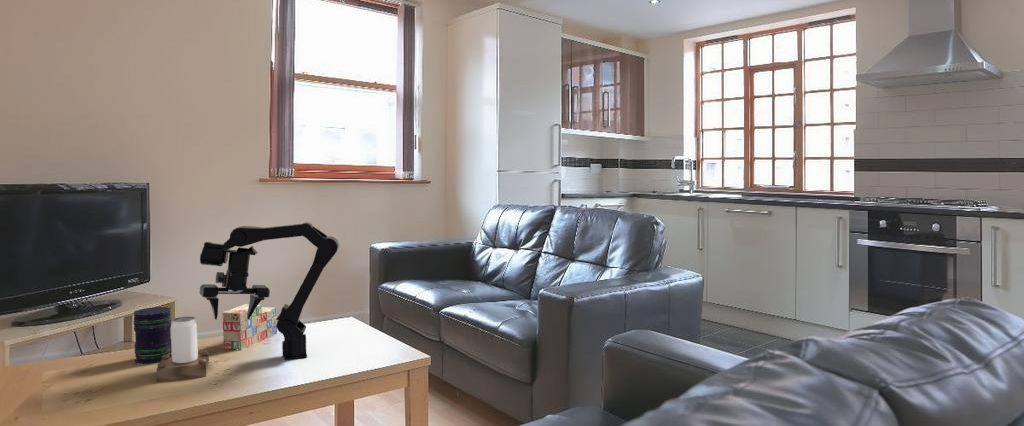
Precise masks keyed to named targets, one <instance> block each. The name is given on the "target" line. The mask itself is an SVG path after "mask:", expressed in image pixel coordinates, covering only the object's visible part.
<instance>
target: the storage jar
mask: <svg viewBox="0 0 1024 426" xmlns="http://www.w3.org/2000/svg"><path fill="white" fill-rule="evenodd" d="M171 311H172V310H171V308H170V307H167V306H166V307H164V306H160V307H158V306H156V307H147V308H141V309H140V308H139V309H138V310H135V311H134V312H133V330H134V332H135V333H134V334H135V335H134V336H135V343H134V356H135V363H136V365H137V364H139V365H153V364H159V363H160V362H161V360H162V356H163V355H169V358H172V345H171V324H172V314H171Z"/></svg>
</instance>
